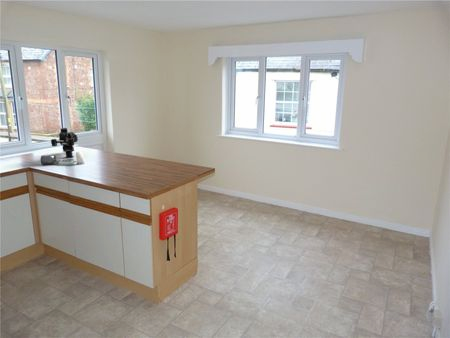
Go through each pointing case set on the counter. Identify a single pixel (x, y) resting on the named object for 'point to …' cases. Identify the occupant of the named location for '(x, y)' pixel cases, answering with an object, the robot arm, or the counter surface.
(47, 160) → the motor
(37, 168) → the counter surface
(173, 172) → the counter surface
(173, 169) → the counter surface
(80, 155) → the pump
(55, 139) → the robot arm
